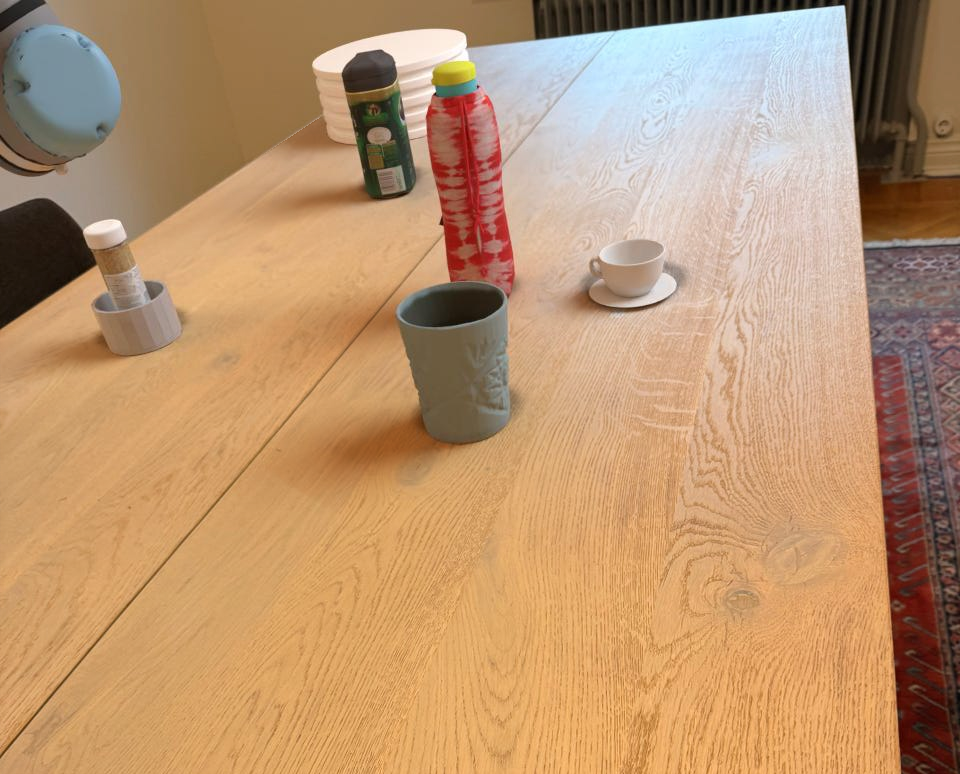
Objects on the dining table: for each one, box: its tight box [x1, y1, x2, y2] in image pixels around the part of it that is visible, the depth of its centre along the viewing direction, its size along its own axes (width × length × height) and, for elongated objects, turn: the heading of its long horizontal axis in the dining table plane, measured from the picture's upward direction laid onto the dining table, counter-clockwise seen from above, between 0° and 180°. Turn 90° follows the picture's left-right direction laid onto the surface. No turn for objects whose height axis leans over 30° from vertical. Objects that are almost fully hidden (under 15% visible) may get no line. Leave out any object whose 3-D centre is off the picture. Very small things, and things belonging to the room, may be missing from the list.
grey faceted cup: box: [90, 279, 183, 357], centre depth 117 cm, size 9×9×6 cm
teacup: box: [588, 238, 677, 308], centre depth 107 cm, size 10×10×5 cm
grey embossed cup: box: [395, 281, 511, 445], centre depth 89 cm, size 10×10×12 cm
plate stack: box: [311, 28, 470, 146], centre depth 172 cm, size 28×28×12 cm
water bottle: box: [426, 60, 516, 300], centre depth 105 cm, size 12×8×25 cm, turn 5°
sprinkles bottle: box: [82, 218, 151, 311], centre depth 114 cm, size 5×5×14 cm
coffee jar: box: [342, 49, 417, 199], centre depth 141 cm, size 10×8×19 cm
